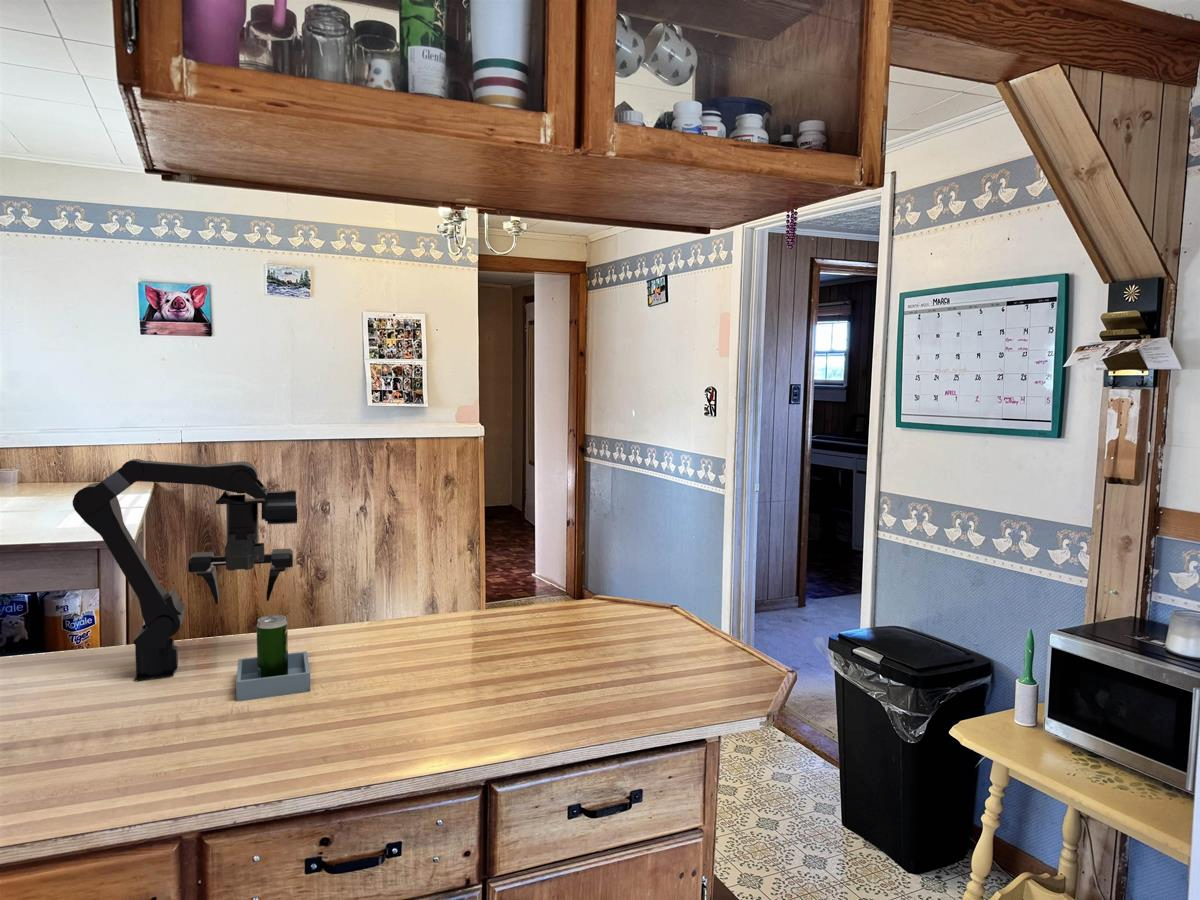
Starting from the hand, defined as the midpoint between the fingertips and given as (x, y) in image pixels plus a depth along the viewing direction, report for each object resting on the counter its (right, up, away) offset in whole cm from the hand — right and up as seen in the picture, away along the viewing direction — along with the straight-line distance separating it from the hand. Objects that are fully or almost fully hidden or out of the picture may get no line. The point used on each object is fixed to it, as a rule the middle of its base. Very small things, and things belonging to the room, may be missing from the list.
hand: (242, 602), depth 155 cm
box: (+10, -14, -9) cm, 19 cm away
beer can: (+10, -13, -9) cm, 19 cm away
